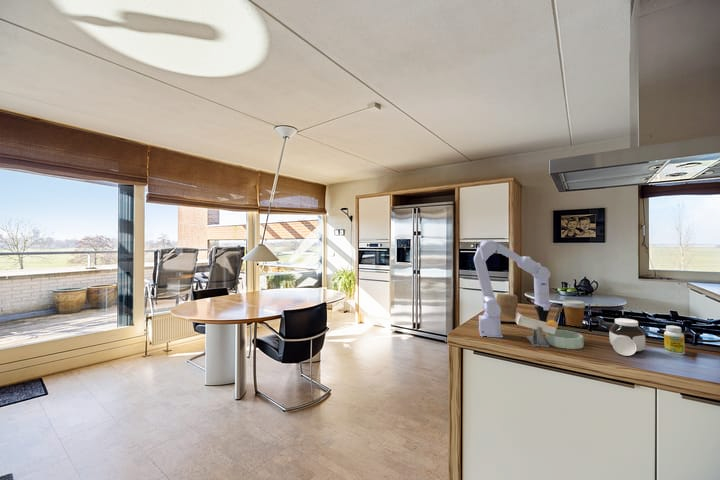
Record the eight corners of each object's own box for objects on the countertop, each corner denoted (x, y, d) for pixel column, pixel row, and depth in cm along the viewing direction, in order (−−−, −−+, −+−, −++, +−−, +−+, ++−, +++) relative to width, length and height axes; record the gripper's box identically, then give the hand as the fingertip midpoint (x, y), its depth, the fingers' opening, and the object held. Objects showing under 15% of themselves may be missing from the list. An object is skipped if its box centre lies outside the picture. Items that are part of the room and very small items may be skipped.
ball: (552, 332, 128) (546, 324, 128) (549, 330, 131) (543, 321, 132) (561, 328, 127) (555, 319, 127) (558, 325, 130) (552, 317, 131)
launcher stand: (533, 346, 126) (532, 327, 126) (526, 337, 138) (525, 320, 138) (549, 347, 124) (548, 328, 124) (541, 338, 136) (540, 320, 136)
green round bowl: (551, 347, 124) (551, 337, 124) (543, 337, 136) (542, 328, 136) (588, 349, 120) (588, 339, 120) (576, 339, 132) (575, 330, 132)
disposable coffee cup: (590, 328, 146) (589, 303, 146) (568, 328, 148) (567, 303, 148) (580, 323, 156) (579, 299, 156) (559, 323, 158) (558, 299, 158)
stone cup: (518, 319, 168) (517, 291, 168) (522, 324, 157) (521, 295, 157) (488, 317, 173) (487, 291, 173) (490, 323, 162) (489, 294, 162)
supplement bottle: (679, 350, 116) (678, 325, 116) (688, 355, 112) (687, 329, 112) (661, 349, 118) (660, 324, 118) (669, 354, 113) (668, 328, 113)
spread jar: (636, 347, 121) (635, 318, 121) (656, 358, 110) (655, 326, 110) (601, 346, 124) (600, 317, 124) (617, 357, 113) (616, 325, 113)
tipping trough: (517, 324, 130) (519, 315, 130) (511, 316, 144) (513, 307, 144) (554, 334, 126) (556, 325, 126) (544, 324, 140) (546, 316, 140)
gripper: (556, 295, 130) (558, 327, 130) (547, 290, 144) (548, 318, 144) (538, 295, 132) (539, 327, 132) (530, 289, 146) (531, 318, 146)
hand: (542, 322), depth 138 cm, fingers closed, pressing on tipping trough
